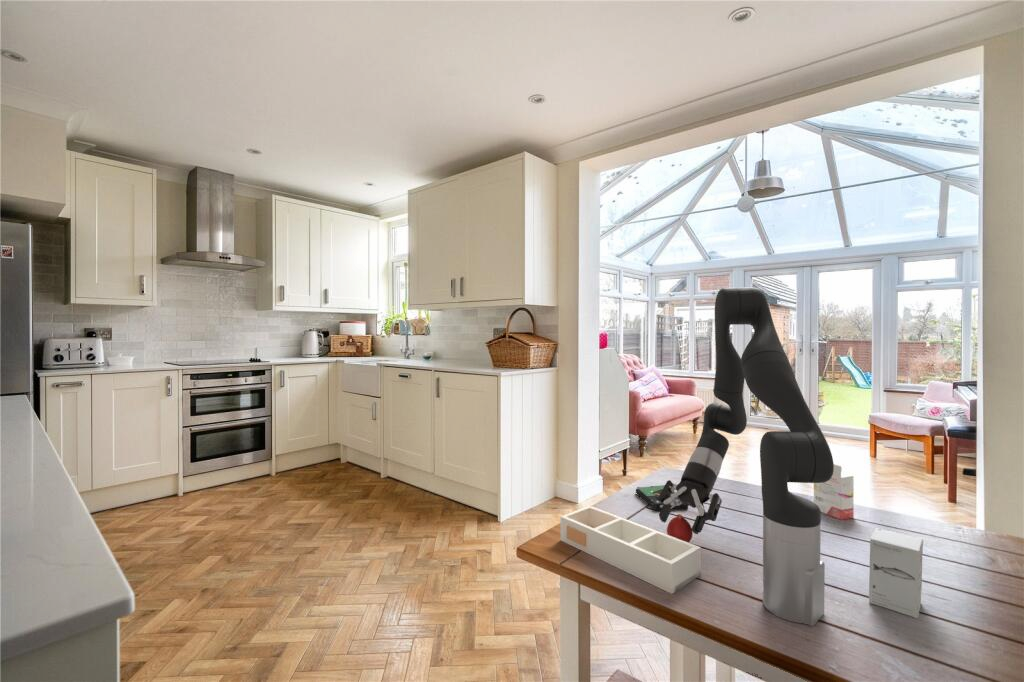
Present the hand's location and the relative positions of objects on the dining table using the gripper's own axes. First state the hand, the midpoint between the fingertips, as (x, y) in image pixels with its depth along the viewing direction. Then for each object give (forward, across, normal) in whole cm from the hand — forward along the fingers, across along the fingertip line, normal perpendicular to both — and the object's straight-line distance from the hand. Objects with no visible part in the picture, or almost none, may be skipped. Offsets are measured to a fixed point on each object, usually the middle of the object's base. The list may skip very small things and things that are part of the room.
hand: (677, 526), depth 112 cm
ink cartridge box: (-33, +17, +40) cm, 55 cm away
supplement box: (-4, +39, +11) cm, 41 cm away
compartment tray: (+13, -6, -6) cm, 15 cm away
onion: (+3, 0, +4) cm, 5 cm away
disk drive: (-12, -20, +21) cm, 31 cm away
